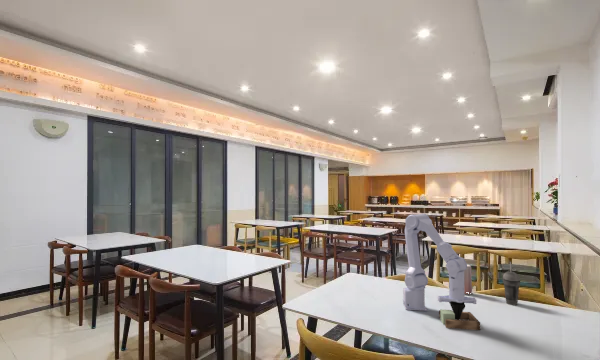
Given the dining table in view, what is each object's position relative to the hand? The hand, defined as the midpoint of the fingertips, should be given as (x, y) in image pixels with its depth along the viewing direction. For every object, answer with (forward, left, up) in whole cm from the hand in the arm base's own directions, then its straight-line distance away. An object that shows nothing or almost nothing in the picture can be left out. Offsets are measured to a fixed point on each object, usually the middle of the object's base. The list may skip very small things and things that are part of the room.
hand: (457, 319), depth 129 cm
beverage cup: (+34, +28, -2) cm, 44 cm away
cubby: (0, 0, -1) cm, 1 cm away
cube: (-4, 0, -1) cm, 4 cm away
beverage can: (+17, +40, -2) cm, 43 cm away
